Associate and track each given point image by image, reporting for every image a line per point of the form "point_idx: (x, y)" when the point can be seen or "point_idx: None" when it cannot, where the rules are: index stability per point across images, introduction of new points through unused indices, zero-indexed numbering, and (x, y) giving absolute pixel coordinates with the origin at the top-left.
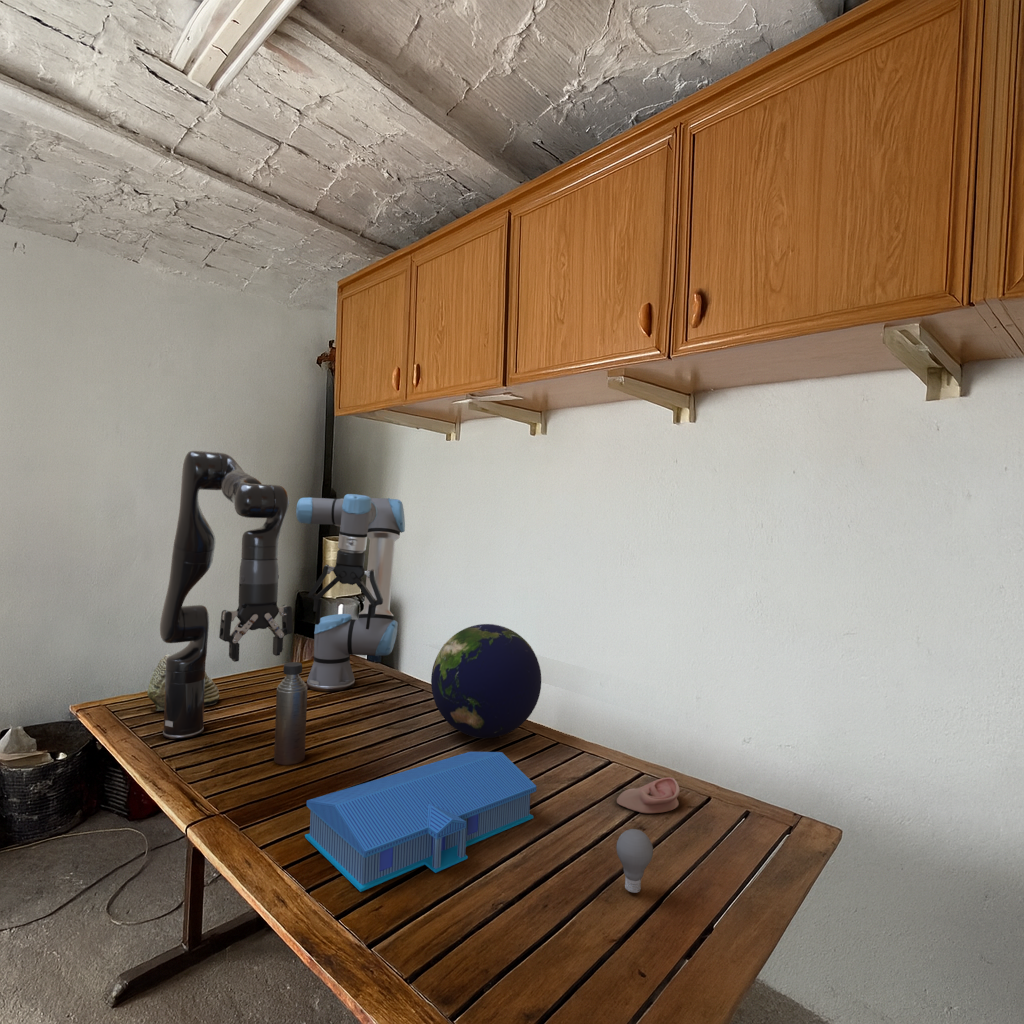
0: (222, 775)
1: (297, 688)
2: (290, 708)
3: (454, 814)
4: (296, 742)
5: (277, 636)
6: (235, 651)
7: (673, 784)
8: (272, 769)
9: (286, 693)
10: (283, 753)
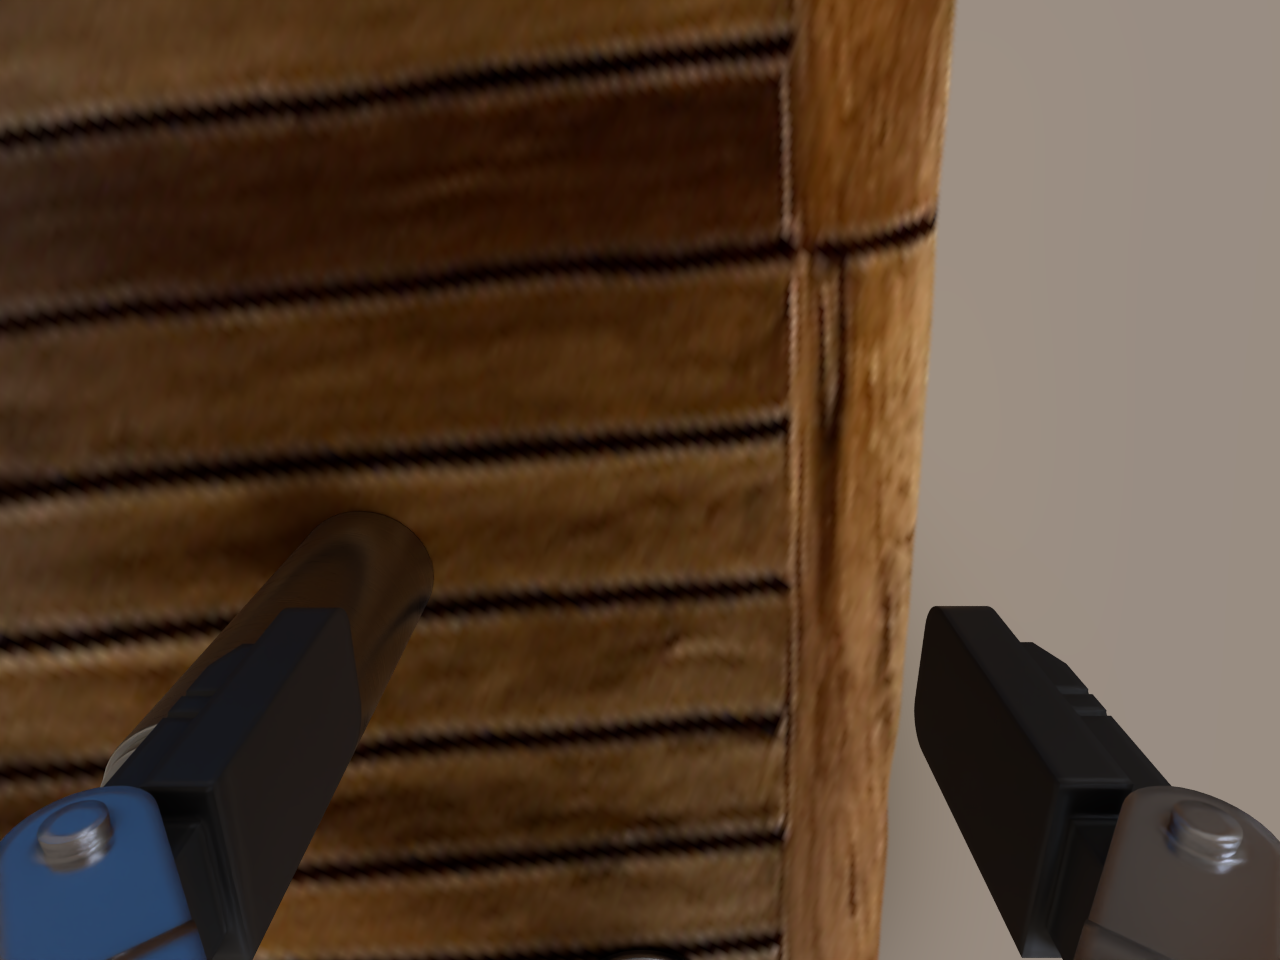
0: (657, 579)
1: None
2: None
3: None
4: (325, 554)
5: (180, 861)
6: (1051, 700)
7: None
8: (466, 516)
9: None
10: (398, 553)
